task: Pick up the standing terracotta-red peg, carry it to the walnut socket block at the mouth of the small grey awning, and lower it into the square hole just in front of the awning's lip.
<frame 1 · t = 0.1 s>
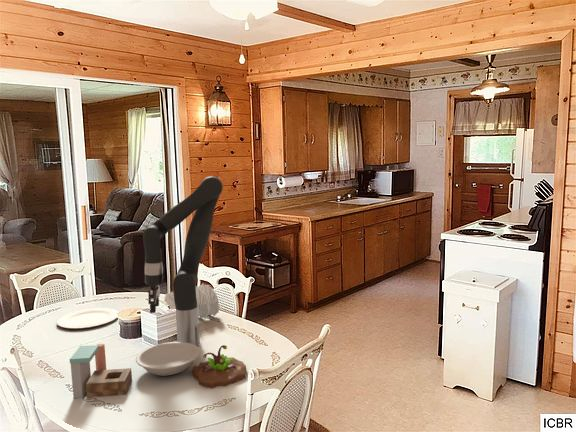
hand: (154, 309, 202), 17 cm above the table, tool pointing down, fingers open, 8 cm apart
plant: (220, 375, 178), on the table
peg: (101, 375, 179), on the table
socket: (110, 388, 169), on the table
soup bowl: (169, 370, 182), on the table
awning: (82, 390, 168), on the table
plate: (89, 321, 239), on the table
grey rounded lump: (195, 320, 236), on the table
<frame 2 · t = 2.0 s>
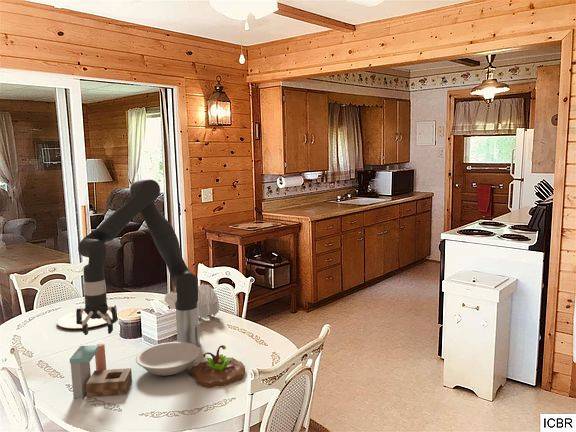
hand: (98, 333, 177), 17 cm above the table, tool pointing down, fingers open, 8 cm apart
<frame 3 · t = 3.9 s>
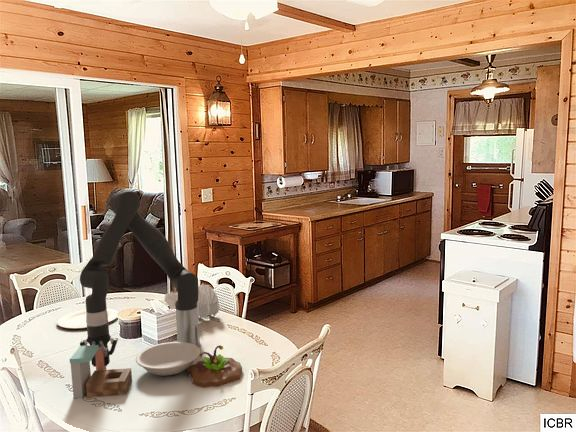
hand: (100, 365, 178), 4 cm above the table, tool pointing down, fingers closed on peg, 3 cm apart
plant: (216, 375, 179), on the table
peg: (101, 375, 179), on the table, touching gripper
everything else where it was.
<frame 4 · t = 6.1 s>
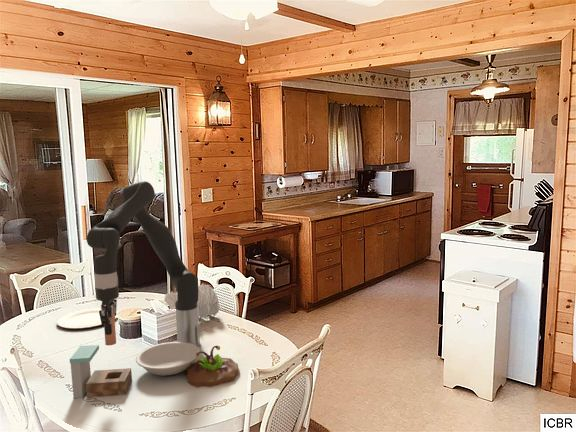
hand: (110, 331, 166), 21 cm above the table, tool pointing down, fingers closed on peg, 3 cm apart
plant: (213, 375, 179), on the table
peg: (110, 343, 166), point 17 cm above the table, touching gripper
everything else where it was.
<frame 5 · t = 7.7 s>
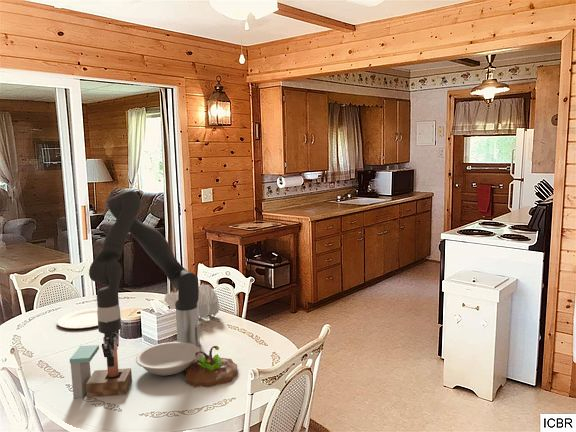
hand: (112, 363, 167), 10 cm above the table, tool pointing down, fingers closed on peg, 3 cm apart
peg: (113, 374, 168), point 5 cm above the table, touching gripper
when the fingers open (6 cm above the table, at t = 8.8 s): peg drops 1 cm, resting in socket.
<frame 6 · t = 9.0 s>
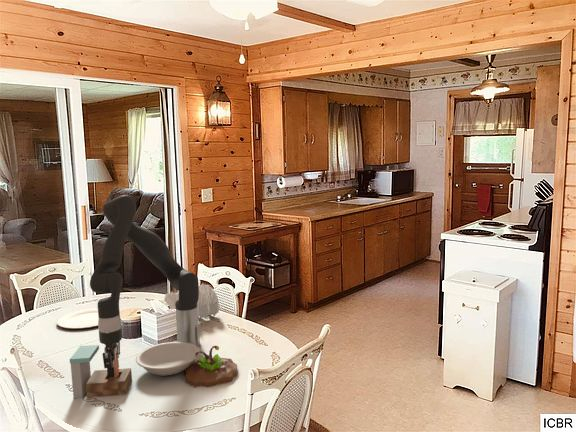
hand: (113, 372, 168), 6 cm above the table, tool pointing down, fingers open, 5 cm apart
peg: (114, 388, 169), resting in socket
everything else where it was.
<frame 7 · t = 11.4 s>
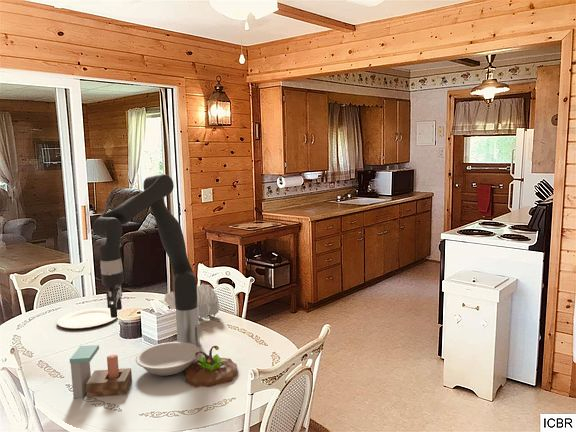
hand: (116, 313, 175), 25 cm above the table, tool pointing down, fingers open, 8 cm apart
nothing on the table moved.
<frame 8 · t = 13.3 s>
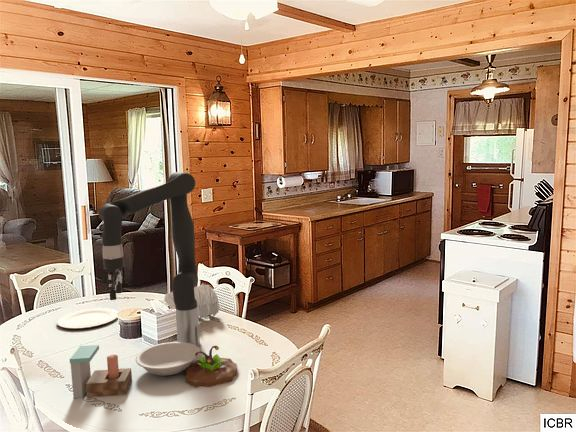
hand: (116, 296, 184), 28 cm above the table, tool pointing down, fingers open, 8 cm apart
nothing on the table moved.
at the end: peg 0.1 cm from the target spot on the socket, point 0.0 cm above the socket's base; peg tilted 0°; the gripper is holding nothing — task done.
